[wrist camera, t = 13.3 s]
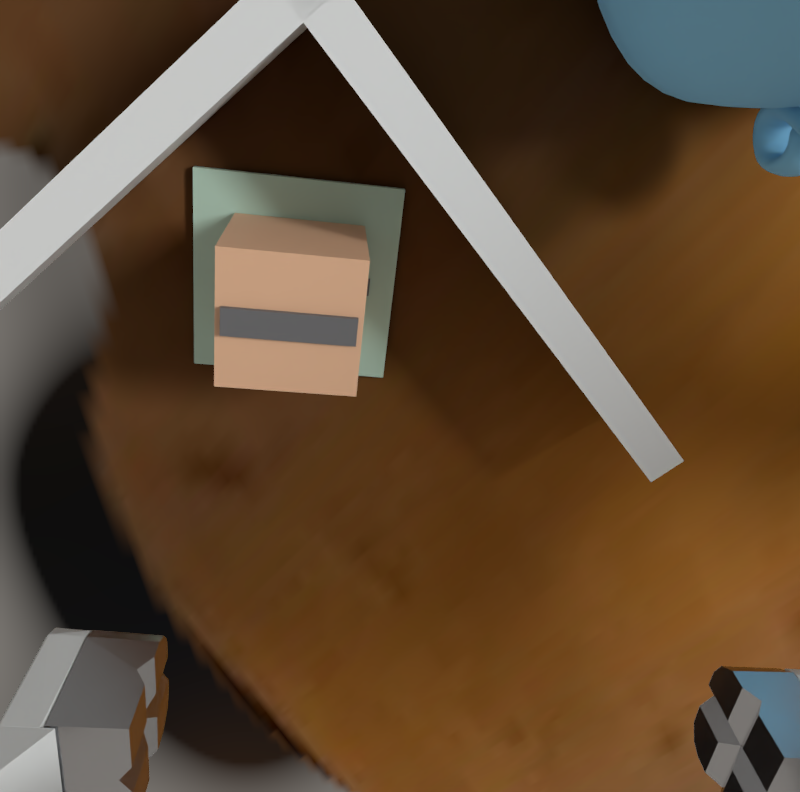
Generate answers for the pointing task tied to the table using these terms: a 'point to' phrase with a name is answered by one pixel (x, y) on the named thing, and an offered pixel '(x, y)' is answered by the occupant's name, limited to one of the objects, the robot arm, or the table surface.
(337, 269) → the cube
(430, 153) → the white l-shaped bracket
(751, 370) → the table surface
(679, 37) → the decorative pot
